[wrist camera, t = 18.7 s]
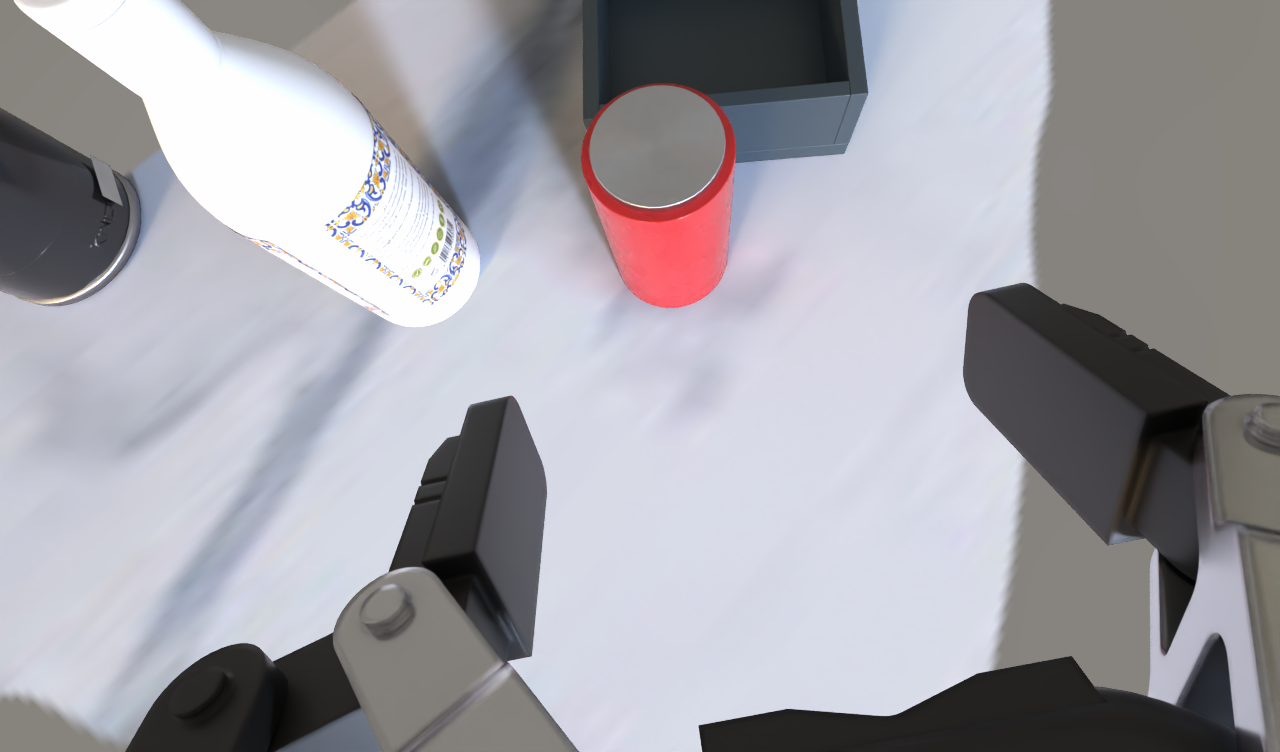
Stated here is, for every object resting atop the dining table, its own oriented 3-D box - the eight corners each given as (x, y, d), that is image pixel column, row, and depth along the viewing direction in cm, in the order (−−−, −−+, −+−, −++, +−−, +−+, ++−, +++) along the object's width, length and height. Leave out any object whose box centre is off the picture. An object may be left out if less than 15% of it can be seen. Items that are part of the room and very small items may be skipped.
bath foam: (475, 203, 35) (185, -179, 15) (491, 314, 33) (189, 45, 14) (362, 230, 35) (-59, -109, 16) (373, 341, 34) (-82, 116, 14)
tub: (600, 174, 34) (582, 119, 30) (597, -24, 37) (581, -103, 32) (844, 154, 33) (868, 93, 28) (822, -50, 36) (840, -137, 31)
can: (618, 311, 33) (578, 223, 22) (617, 209, 34) (578, 83, 24) (730, 304, 32) (741, 211, 22) (724, 201, 33) (731, 68, 23)
